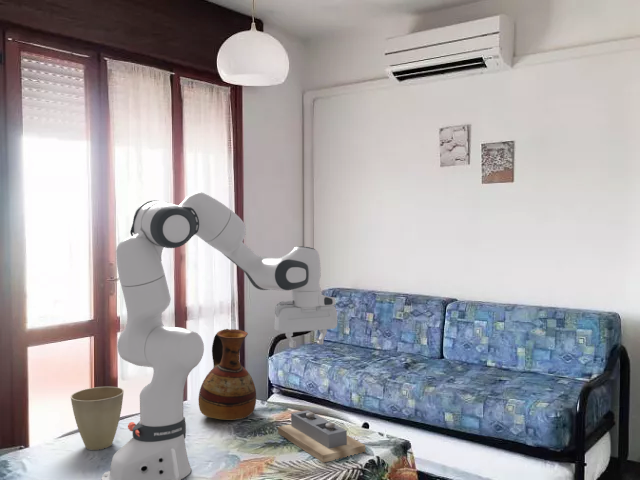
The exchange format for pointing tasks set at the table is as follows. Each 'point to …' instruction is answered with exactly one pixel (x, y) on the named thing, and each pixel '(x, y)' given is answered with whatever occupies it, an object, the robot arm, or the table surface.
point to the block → (319, 430)
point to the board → (317, 448)
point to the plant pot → (97, 415)
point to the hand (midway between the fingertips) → (306, 345)
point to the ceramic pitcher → (227, 380)
